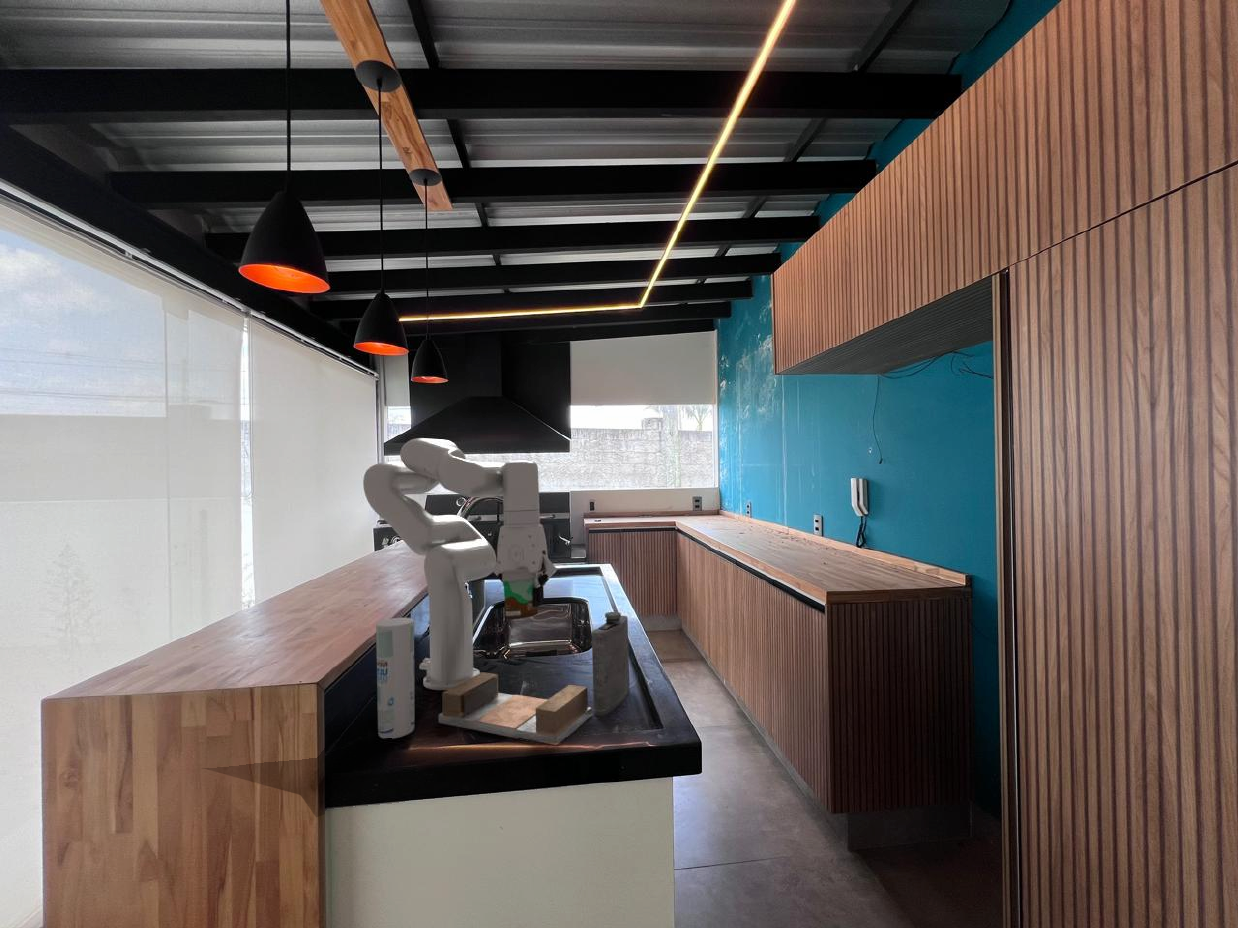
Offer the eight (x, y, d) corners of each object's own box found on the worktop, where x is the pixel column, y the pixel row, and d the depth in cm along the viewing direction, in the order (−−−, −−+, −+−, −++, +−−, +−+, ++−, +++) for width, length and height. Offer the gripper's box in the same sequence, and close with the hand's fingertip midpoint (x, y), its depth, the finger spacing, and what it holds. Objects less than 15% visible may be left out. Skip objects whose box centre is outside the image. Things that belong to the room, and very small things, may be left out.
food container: (532, 621, 107) (531, 570, 107) (503, 621, 108) (501, 570, 108) (550, 607, 119) (549, 562, 119) (524, 607, 120) (522, 562, 120)
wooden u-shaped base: (438, 722, 103) (438, 693, 103) (482, 697, 114) (481, 670, 115) (556, 746, 92) (556, 713, 92) (591, 715, 104) (590, 686, 104)
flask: (634, 689, 116) (632, 605, 117) (608, 716, 103) (606, 621, 104) (619, 687, 118) (616, 604, 118) (591, 714, 104) (588, 620, 105)
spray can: (421, 730, 100) (419, 621, 100) (385, 742, 95) (384, 628, 96) (406, 719, 104) (405, 615, 105) (371, 731, 100) (370, 622, 100)
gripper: (477, 521, 114) (480, 607, 113) (549, 519, 108) (552, 611, 107) (497, 518, 121) (500, 600, 120) (566, 517, 115) (569, 603, 114)
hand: (524, 604), depth 113 cm, fingers closed on food container, 5 cm apart
